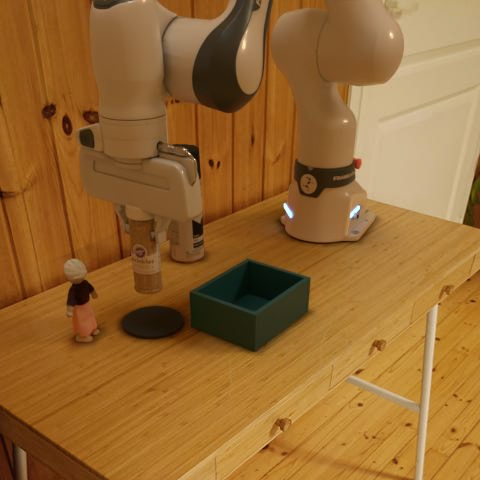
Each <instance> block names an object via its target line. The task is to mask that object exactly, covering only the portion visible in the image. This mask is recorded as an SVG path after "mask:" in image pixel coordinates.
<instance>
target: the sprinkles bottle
mask: <svg viewBox="0 0 480 480" xmlns="http://www.w3.org/2000/svg"><path fill="white" fill-rule="evenodd" d="M126 216H127V218H128V221H129V233H130V235H129V243H130V257H131V267H132V271H133V281H134V286H133V288H134V290H135V291H136V292H137V293H138V294H141V295H156V294H158V293H160V292H161V291H162V290H163V289H164V283H163V276H162V273H163V272H162V256H161V244H157V243H154V242H152V241H151V234H150V231H152V230H155V229H156V226H157V223H158V222H156V221H154V214H151V213H147V212H144V211H142V210H141V209H140V208H138V207H135V206H132V205H128V204H126Z"/></svg>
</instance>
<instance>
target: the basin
mask: <svg viewBox="0 0 480 480" xmlns="http://www.w3.org/2000/svg"><path fill="white" fill-rule="evenodd" d="M311 280H312V278H311V276H307V275H304V274H300V273H297V272H294V271H291V270H288V269H284V268H281V267H278V266H274V265H271V264H268V263H264V262H261V261H258V260H255V259H251V258H248V257H247V258H246V259H243V260H242V261H240V262H239V263H237V264H235V265H233V266H231V267H230V268H228V269H227V270H225V271H223V272H221V273H219V274H218V275H216V276H214V277H212V278H211V279H209V280H207V281H206V282H204V283H202V284H200V285H199V286H197V287H195V288H193V289H192V290H189V292H188V293H189V294H188V295H189V313H190V315H189V316H190V328H193V329H196V330H198V331H201V332H203V333H206V334H208V335H211V336H213V337H216V338H218V339H221V340H224V341H226V342H229V343H232V344H234V345H236V346H240V347H242V348H244V349H247V350H250V351H252V352H257V351H258V350H259V349H261V348H262V347H263V346H264V345H266V344H267V343H269V342H270V341H271V340H272V339H274V338H275V337H277V336H278V335H279V334H281V333H282V332H283V331H285V330H286V329H287V328H289V327H290V326H291V325H293V324H294V323H296V322H297V321H298V320H300V318H302V317H303V316H305V315H306V314H308V313H309V304H310V295H311V294H310V293H311Z"/></svg>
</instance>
